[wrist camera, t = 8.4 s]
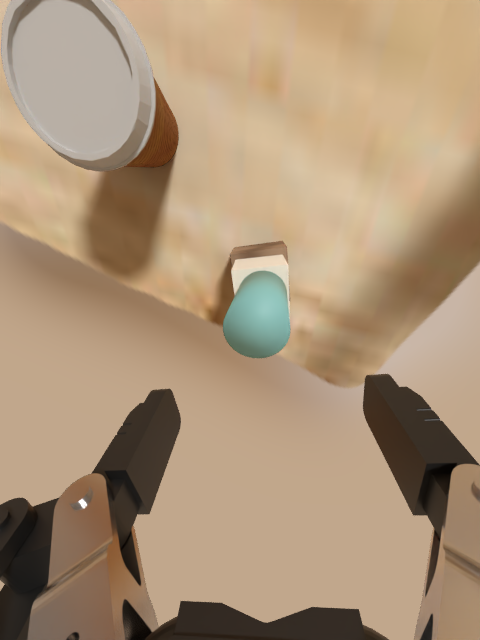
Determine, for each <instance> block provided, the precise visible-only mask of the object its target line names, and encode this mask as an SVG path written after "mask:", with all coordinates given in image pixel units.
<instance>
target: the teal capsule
mask: <svg viewBox="0 0 480 640" xmlns="http://www.w3.org/2000/svg"><path fill="white" fill-rule="evenodd" d="M223 332H224V336H225V338H226V340H227V342H228V343H229V345H230V346H231V347H232V348H233V349H234V350H235V351H237V352H238V353H240V354H242V355H244V356H247V357H251V358H266V357H269V356H272V355H274V354H276V353H278V352H279V351H280V350H281V349H283V347H284V346H285V345H286V343H287V342H288V339H289V336H290V320H289V309H288V297H287V289H286V286H285V283H284V282H283V280H282V279H281V278H280V277H279V276H278V275H276V274H275V273H272V272H270V271H256V272H253V273H251V274H249V275H248V276H246V277H245V278H244V280H243V281H242V283H241V284H240V286H239V289H238V291H237V293H236V295H235V297H234V299H233V301H232V303H231V305H230V307H229V309H228V311H227V314H226V316H225V318H224V322H223Z"/></svg>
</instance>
